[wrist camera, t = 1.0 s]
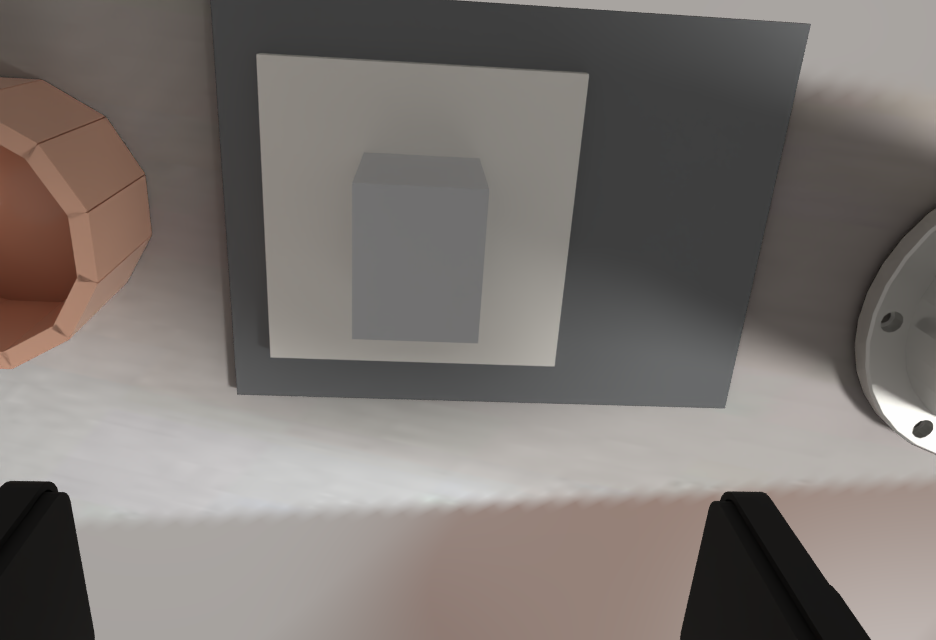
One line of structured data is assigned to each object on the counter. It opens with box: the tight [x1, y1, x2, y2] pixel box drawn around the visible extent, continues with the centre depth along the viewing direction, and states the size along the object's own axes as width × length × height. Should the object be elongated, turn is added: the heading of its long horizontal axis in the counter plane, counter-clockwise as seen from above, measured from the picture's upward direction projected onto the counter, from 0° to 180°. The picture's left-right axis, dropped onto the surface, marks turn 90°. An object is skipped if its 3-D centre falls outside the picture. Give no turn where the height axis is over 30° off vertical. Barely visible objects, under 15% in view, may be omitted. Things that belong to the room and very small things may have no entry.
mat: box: [211, 0, 811, 408], centre depth 28 cm, size 20×15×1 cm
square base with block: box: [256, 53, 589, 367], centre depth 25 cm, size 11×11×5 cm
